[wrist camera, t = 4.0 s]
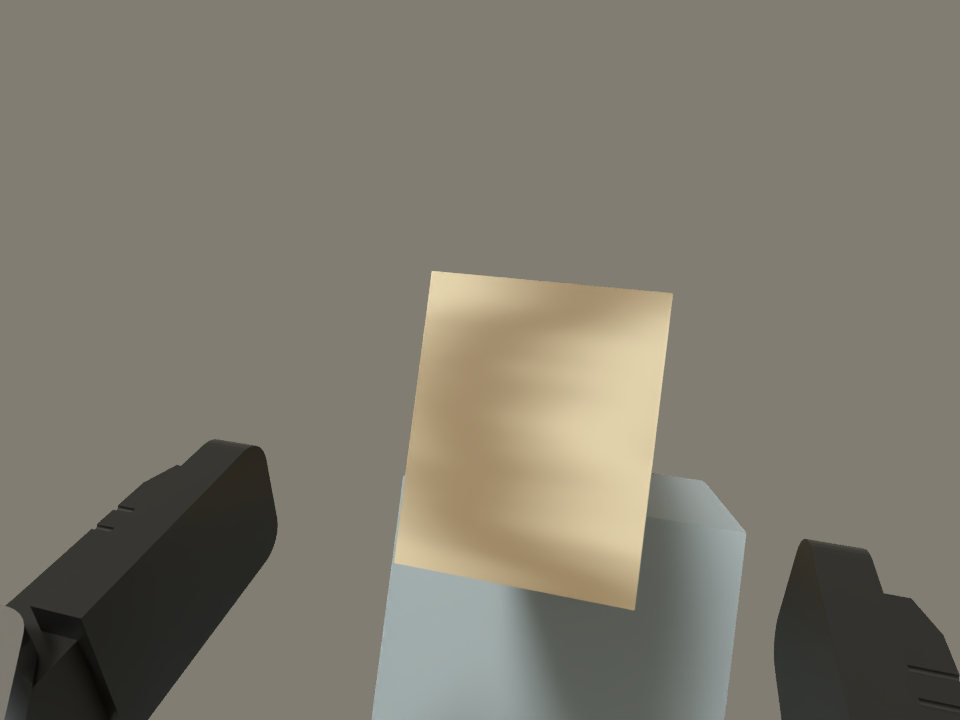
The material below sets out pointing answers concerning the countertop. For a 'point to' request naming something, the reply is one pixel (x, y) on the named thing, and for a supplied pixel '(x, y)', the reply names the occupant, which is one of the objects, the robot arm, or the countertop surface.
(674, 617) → the slate stand
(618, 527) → the maple bar
